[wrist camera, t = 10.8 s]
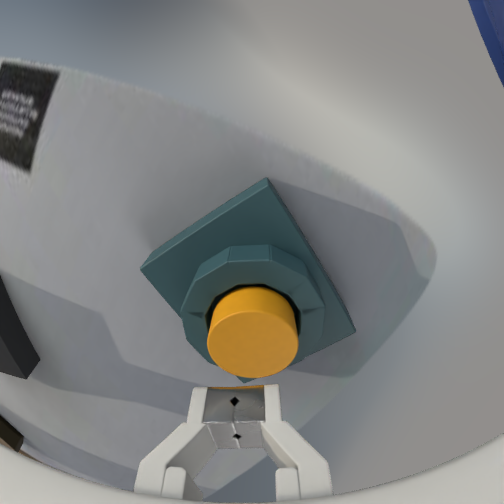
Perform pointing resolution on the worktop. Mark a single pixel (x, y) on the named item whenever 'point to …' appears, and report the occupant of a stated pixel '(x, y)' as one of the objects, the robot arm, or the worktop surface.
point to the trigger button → (253, 333)
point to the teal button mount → (248, 270)
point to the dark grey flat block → (14, 341)
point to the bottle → (10, 436)
